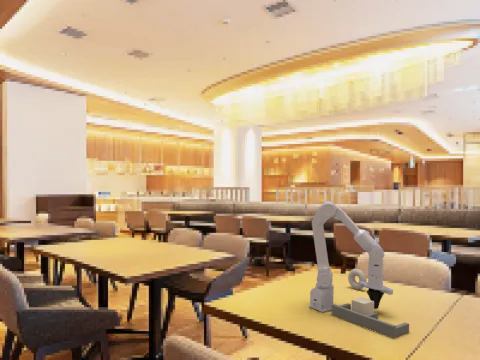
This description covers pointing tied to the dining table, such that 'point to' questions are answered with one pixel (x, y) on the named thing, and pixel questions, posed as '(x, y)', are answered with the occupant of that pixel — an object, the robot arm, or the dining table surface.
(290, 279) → the dining table surface
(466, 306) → the dining table surface
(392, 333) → the comb rack
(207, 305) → the dining table surface
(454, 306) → the dining table surface
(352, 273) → the donut
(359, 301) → the beige cube
